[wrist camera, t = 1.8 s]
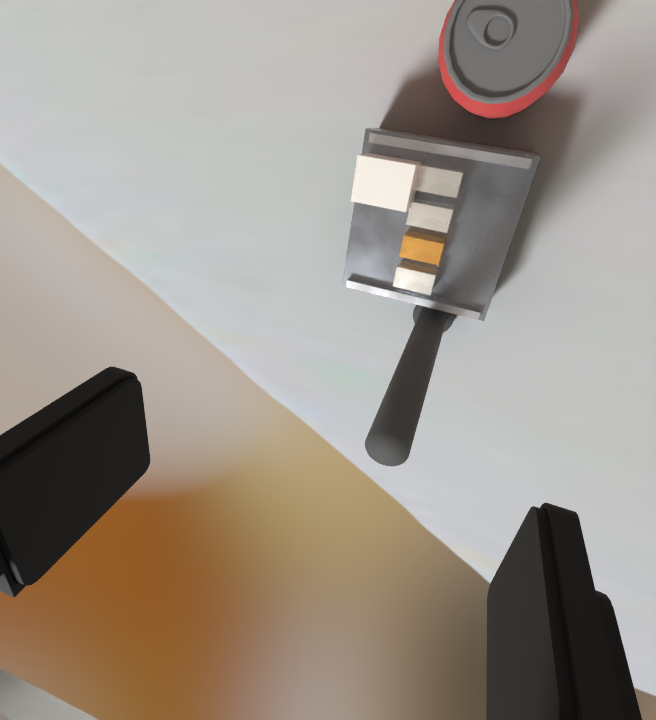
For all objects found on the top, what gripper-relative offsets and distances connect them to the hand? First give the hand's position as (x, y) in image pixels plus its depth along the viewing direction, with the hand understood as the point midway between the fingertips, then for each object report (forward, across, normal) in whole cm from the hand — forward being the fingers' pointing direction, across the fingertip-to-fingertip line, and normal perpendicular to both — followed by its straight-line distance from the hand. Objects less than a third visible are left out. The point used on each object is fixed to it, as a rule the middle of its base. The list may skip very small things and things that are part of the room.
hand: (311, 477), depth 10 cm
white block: (+27, +4, -3) cm, 28 cm away
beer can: (+31, -2, -11) cm, 33 cm away
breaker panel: (+31, 0, 0) cm, 31 cm away
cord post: (+31, -1, +8) cm, 32 cm away
